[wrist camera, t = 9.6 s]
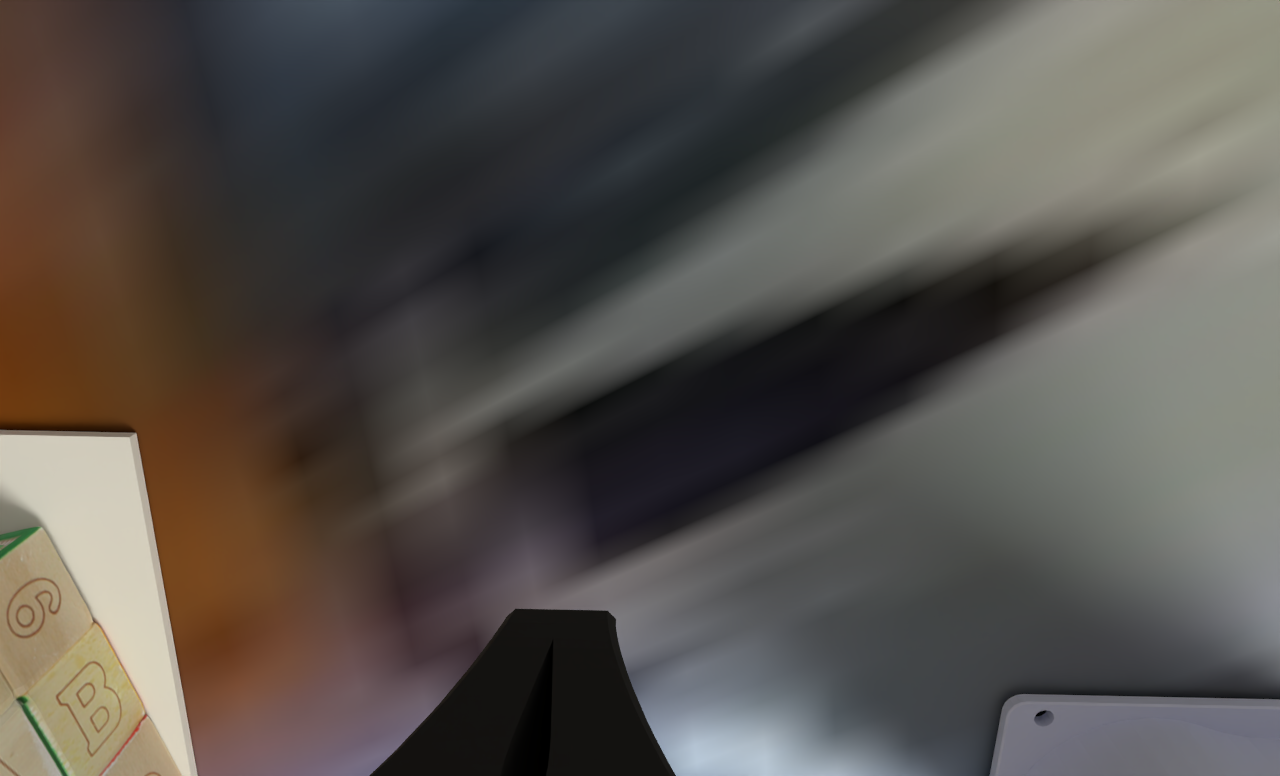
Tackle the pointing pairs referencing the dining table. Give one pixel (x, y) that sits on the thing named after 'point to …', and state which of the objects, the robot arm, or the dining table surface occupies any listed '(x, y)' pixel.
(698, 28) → the dining table surface
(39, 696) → the stack of blocks
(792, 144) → the dining table surface
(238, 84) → the dining table surface
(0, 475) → the mat
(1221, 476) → the dining table surface
